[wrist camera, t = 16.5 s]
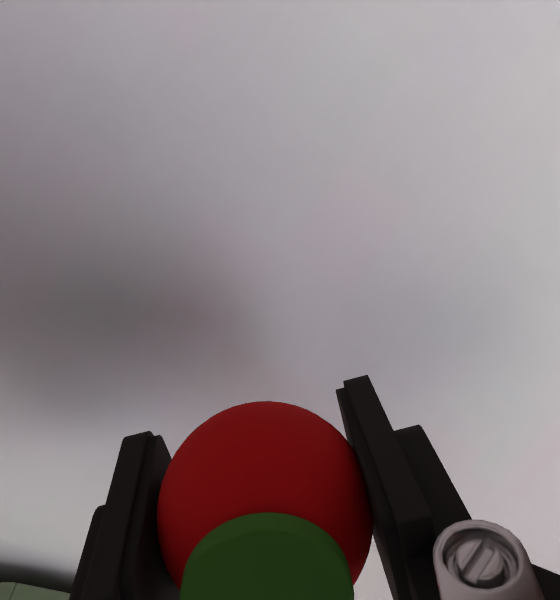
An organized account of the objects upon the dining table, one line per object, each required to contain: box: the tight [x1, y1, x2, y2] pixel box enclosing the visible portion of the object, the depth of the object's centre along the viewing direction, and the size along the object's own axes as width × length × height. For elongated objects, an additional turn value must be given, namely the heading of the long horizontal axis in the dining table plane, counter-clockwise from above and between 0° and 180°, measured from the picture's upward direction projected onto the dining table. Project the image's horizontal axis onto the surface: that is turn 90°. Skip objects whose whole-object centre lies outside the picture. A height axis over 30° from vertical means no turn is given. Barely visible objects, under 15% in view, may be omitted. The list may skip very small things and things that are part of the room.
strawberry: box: [157, 401, 374, 600], centre depth 10 cm, size 4×4×4 cm
